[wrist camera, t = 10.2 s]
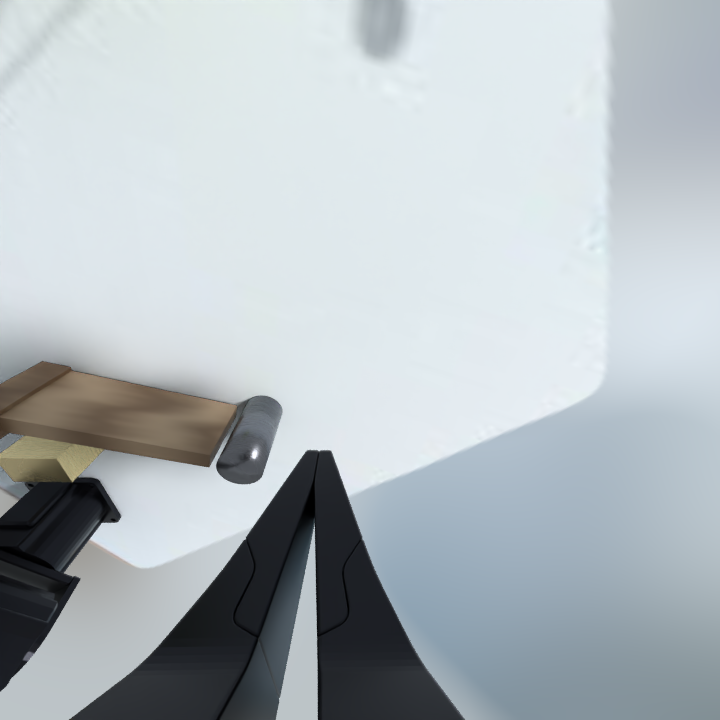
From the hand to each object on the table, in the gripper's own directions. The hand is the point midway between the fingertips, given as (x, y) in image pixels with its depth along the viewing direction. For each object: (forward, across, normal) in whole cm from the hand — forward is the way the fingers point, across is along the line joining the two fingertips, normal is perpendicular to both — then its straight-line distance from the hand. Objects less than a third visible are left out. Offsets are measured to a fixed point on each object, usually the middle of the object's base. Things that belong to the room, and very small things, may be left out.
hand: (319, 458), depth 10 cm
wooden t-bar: (+11, +14, +6) cm, 19 cm away
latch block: (+12, +21, +10) cm, 26 cm away
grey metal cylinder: (+12, +6, +8) cm, 16 cm away
